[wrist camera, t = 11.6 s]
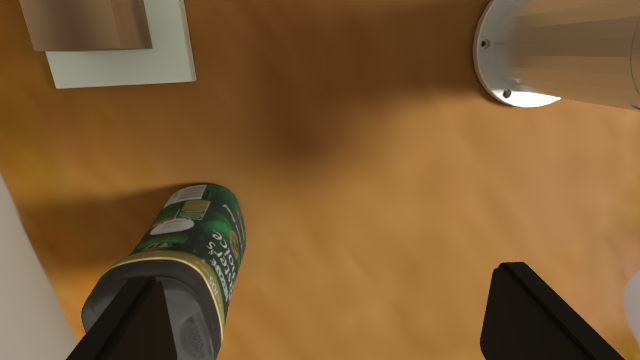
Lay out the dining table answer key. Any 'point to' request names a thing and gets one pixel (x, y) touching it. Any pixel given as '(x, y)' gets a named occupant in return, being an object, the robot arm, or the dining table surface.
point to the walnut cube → (86, 25)
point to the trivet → (134, 55)
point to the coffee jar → (185, 267)
